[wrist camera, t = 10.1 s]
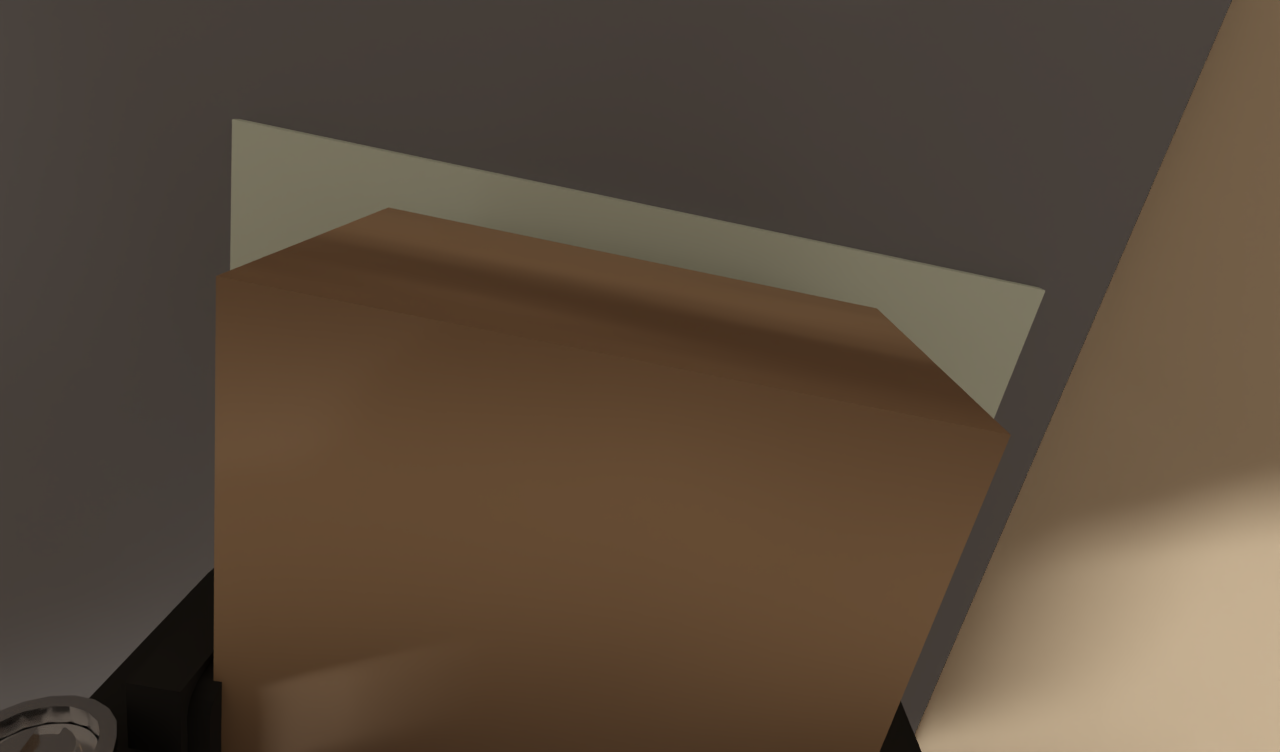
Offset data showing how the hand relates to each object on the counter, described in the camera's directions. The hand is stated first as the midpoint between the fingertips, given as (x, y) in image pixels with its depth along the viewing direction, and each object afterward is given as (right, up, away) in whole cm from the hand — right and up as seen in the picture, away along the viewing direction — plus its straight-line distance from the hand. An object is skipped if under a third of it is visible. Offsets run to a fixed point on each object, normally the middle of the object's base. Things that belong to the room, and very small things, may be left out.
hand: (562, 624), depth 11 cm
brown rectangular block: (0, 0, 0) cm, 1 cm away
